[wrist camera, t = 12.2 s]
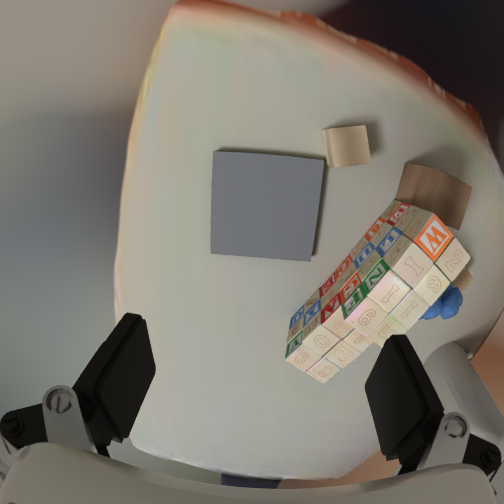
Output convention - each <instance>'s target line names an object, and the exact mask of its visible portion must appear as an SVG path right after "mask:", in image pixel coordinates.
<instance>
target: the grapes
mask: <svg viewBox="0 0 504 504" xmlns="http://www.w3.org/2000/svg"><path fill="white" fill-rule="evenodd" d="M462 301H463V298H462V294H461V292H460V290H459V288H458V287H455V288H454V286H453V283H452V282H451V283H450V285H449V286H448V287H447V288H446V290H445V291H444V292H443V293H442V294H441V295H440V297H439V298H438V299H437V300H436V301H435V302H434V303H433V305H432V306H430V307H429V308H428V309H427V311H426V312H425V313H424V314H423V315H422V316H421V317H420V318H419V319H418V320H420V319H423V318H424V319H425V320H428V319H432V318H434V317H437V316H438V315H439V314H440V315H441V317H442V319H448V318H450V317H453V316H455V315H456V314H457V313H458V310H459V307H460V306H461V305H462Z"/></svg>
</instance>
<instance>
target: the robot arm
mask: <svg viewBox="0 0 504 504" xmlns="http://www.w3.org/2000/svg"><path fill="white" fill-rule="evenodd" d="M472 357H473V353H472V352H469V353H466V352H465V351H464V349H463V348H460V346H459V345H458V344H457V343H455V342H451V343H447V344H445V345H443V346H441V347H439V348H438V349H436V350H435V351H434V352H433V353H432V354H431V355H430V356H429V357H428V358H427V359H426V361H425V362H424V364H423V365H422V363H421V361H420V359H419V357H418V356H417V354H416V352H415V350H414V348H413V346H412V345H411V343H410V341H409V339H408V338H407V336H406V335H405V334H393V335H391V336H390V337H389V338H387V339H386V341H385V343H384V345H383V348H382V350H381V352H380V354H379V356H378V359H377V361H376V363H375V365H374V367H373V369H372V371H371V373H370V375H369V377H368V379H367V381H366V383H365V392H366V395H367V398H368V402H369V405H370V409H371V413H372V416H373V420H374V424H375V428H376V431H377V435H378V439H379V443H380V448H381V452H382V454H383V455H386V460H387V461H389V460H394V459H398V458H399V462H400V464H399V466H398V468H397V470H396V471H395V473H394V475H393V476H392V477H389V478H384V479H379V480H374V481H369V482H364V483H357V484H351V485H343V486H335V487H323V488H309V489H257V488H242V487H232V486H223V485H216V484H209V483H202V482H197V481H191V480H186V479H181V478H177V477H172V476H168V475H163V474H160V473H156V472H152V471H149V470H146V469H142V468H138V467H135V466H132V465H129V464H126V463H123V462H120V461H117V460H114V458H113V456H112V453H111V451H110V448H109V445H110V443H111V440H113V441H116V442H119V443H122V441H123V439H124V438H127V437H128V436H129V434H130V432H131V429H132V427H133V424H134V422H135V419H136V417H137V415H138V412H139V410H140V407H141V405H142V403H143V400H144V398H145V396H146V393H147V391H148V389H149V387H150V384H151V382H152V380H153V377H154V375H155V371H156V366H155V362H154V358H153V353H152V349H151V344H150V339H149V334H148V329H147V324H146V321H145V319H142V316H141V315H138V314H133V313H126V314H125V315H124V316H123V317H122V319H121V320H120V321H119V323H118V324H117V326H116V327H115V328H114V330H113V331H112V333H111V334H110V335H109V337H108V338H107V340H106V341H104V342H103V343H102V345H101V346H100V347H99V349H98V350H97V352H96V353H95V355H94V356H93V357H92V359H91V360H90V362H89V363H88V365H87V366H86V368H85V369H84V371H83V372H82V374H81V375H80V377H79V378H78V380H77V381H76V383H75V384H74V386H73V387H72V388H70V387H68V386H64V385H59V386H54V387H52V388H50V389H49V390H47V392H46V393H45V394H44V396H43V399H42V403H41V404H38V405H33V406H30V407H26V408H22V409H17V410H14V411H10V412H7V413H6V414H5V415H4V416H3V417H2V419H1V421H0V504H504V416H503V414H502V413H501V412H500V410H499V408H498V407H497V405H496V403H495V402H494V400H493V398H492V397H491V395H490V393H489V392H488V390H487V388H486V386H485V385H484V383H483V382H482V380H481V378H480V377H479V375H478V373H477V372H476V370H475V369H474V367H473V366H472V364H471V360H470V358H472Z"/></svg>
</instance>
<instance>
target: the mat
mask: <svg viewBox="0 0 504 504" xmlns="http://www.w3.org/2000/svg"><path fill="white" fill-rule="evenodd" d="M323 167H324V160H320V159H312V158H304V157H295V156H285V155H274V154H262V153H247V152H228V151H213V170H212V199H211V254H223V255H236V256H248V257H260V258H272V259H285V260H298V261H311V255H312V249H313V243H314V236H315V230H316V223H317V216H318V208H319V201H320V193H321V185H322V176H323Z"/></svg>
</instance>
